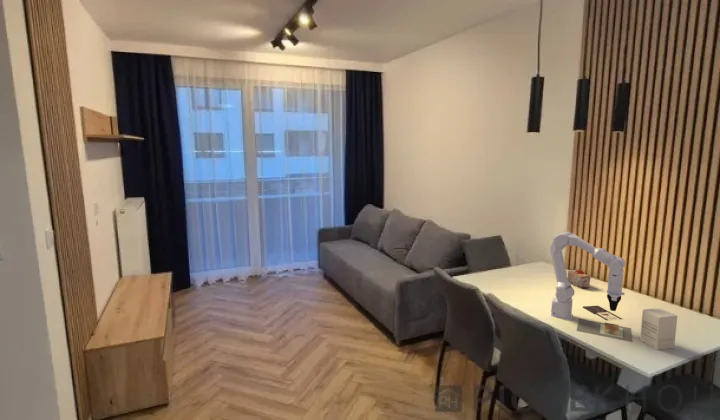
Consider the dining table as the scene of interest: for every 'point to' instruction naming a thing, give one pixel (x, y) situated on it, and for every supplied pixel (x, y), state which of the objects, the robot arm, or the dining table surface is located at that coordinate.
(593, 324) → the mat
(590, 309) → the chocolate bar
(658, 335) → the supplement box
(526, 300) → the dining table surface
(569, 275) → the food item
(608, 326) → the tile
